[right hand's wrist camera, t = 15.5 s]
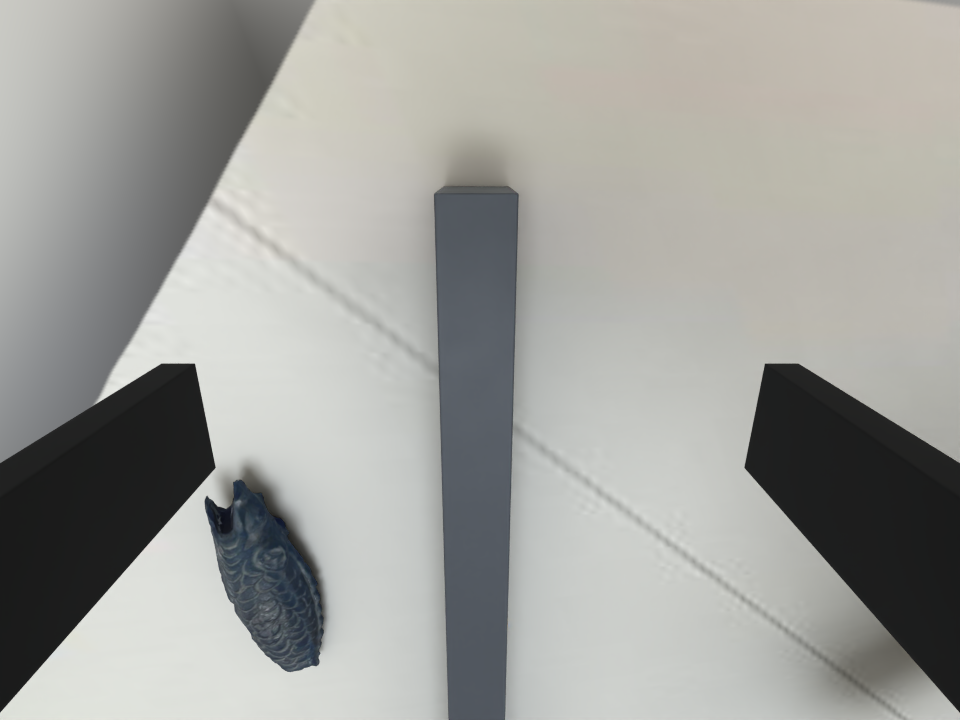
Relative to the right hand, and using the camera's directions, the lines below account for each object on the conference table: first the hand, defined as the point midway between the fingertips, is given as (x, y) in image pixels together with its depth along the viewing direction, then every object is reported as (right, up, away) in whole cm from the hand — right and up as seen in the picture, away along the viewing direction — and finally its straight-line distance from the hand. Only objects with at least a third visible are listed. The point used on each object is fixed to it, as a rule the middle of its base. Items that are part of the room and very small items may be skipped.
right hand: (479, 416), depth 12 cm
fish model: (-18, -17, +35) cm, 43 cm away
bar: (0, -24, +37) cm, 44 cm away
